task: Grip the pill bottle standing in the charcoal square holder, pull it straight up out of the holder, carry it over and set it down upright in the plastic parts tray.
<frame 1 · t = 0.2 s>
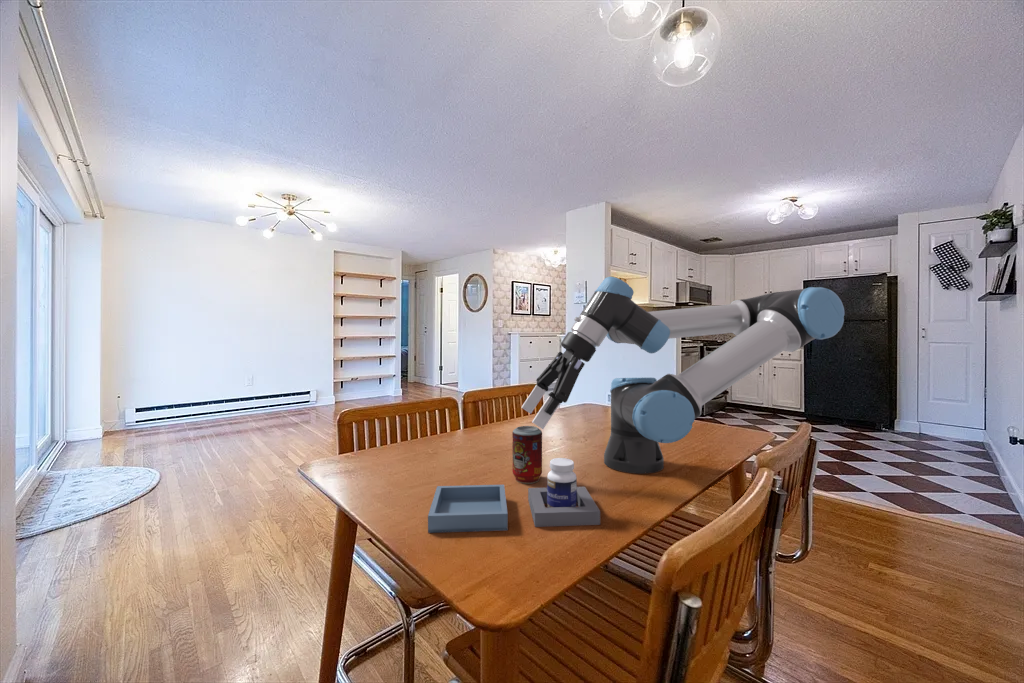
hand: (531, 417, 94), 16 cm above the table, tool tilted 35°, fingers open, 13 cm apart
pill bottle: (561, 512, 82), resting in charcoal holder
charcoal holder: (561, 511, 82), on the table
parts tray: (469, 514, 81), on the table
soda can: (527, 480, 100), on the table
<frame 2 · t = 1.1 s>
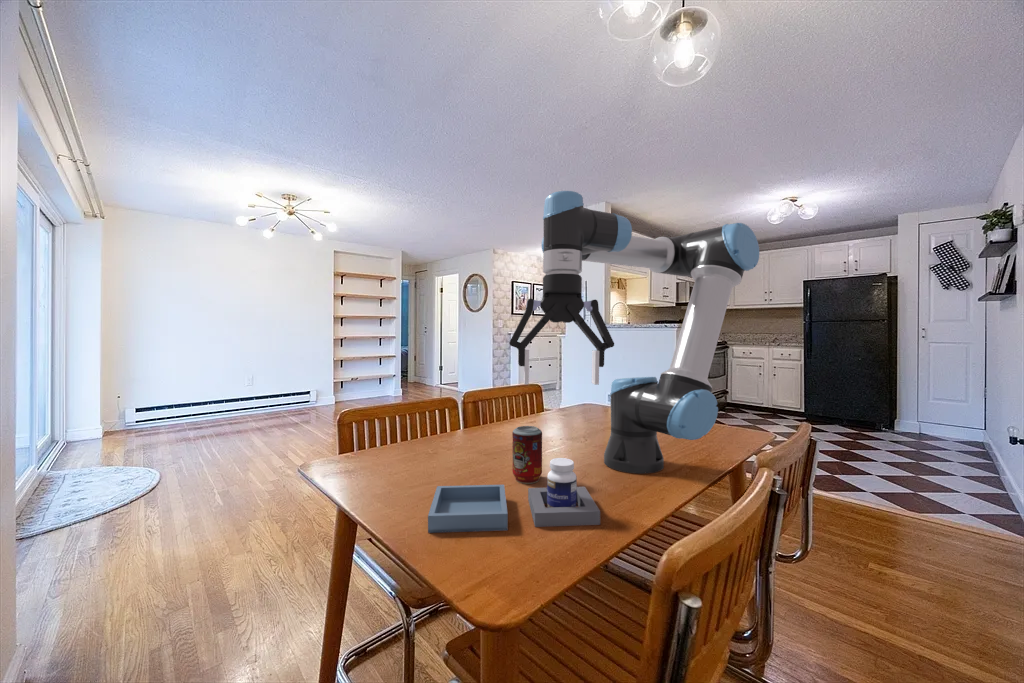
hand: (560, 383, 82), 25 cm above the table, tool pointing down, fingers open, 13 cm apart
nothing on the table moved.
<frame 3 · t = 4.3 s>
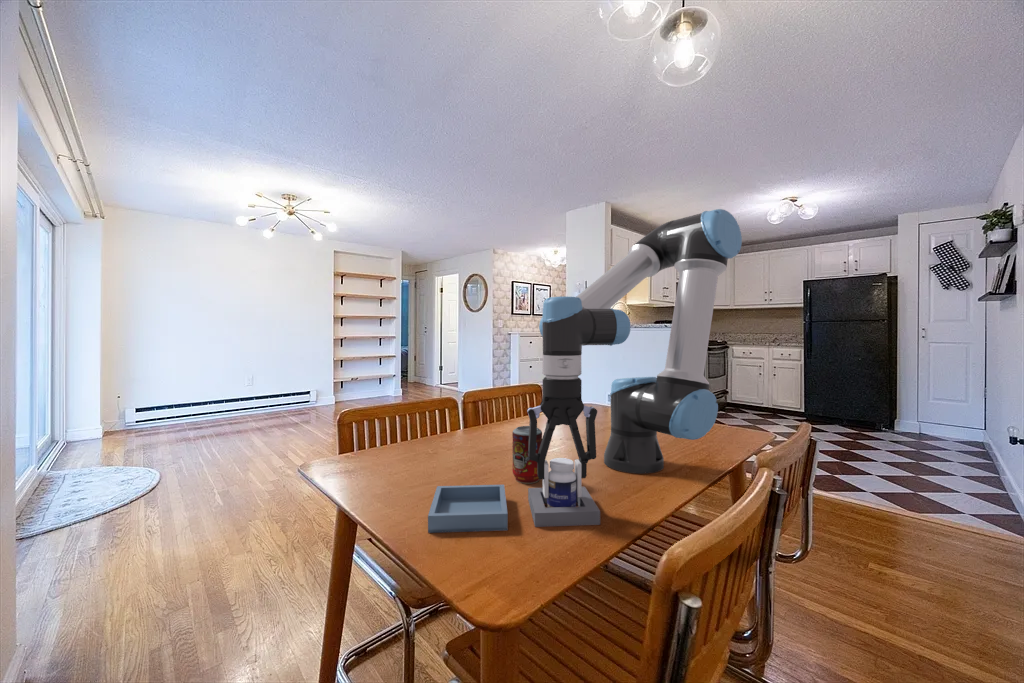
hand: (561, 494, 82), 3 cm above the table, tool pointing down, fingers closed on pill bottle, 6 cm apart
pill bottle: (561, 512, 82), resting in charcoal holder, touching gripper
everything else where it was.
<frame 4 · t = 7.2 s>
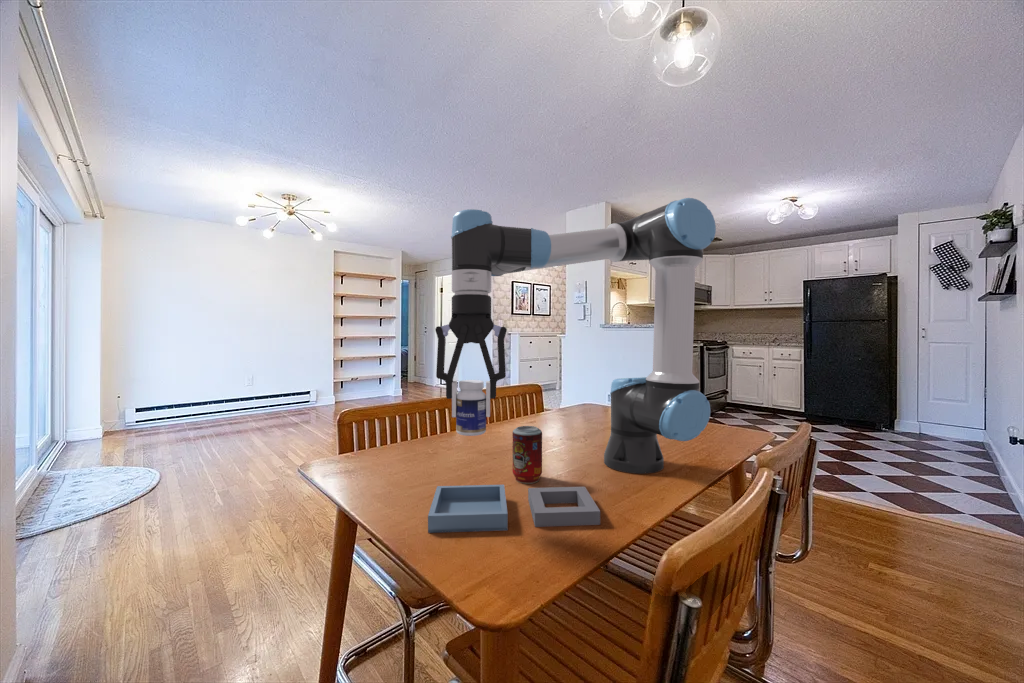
hand: (471, 415, 80), 19 cm above the table, tool pointing down, fingers closed on pill bottle, 6 cm apart
pill bottle: (471, 433, 80), point 16 cm above the table, touching gripper
everything else where it was.
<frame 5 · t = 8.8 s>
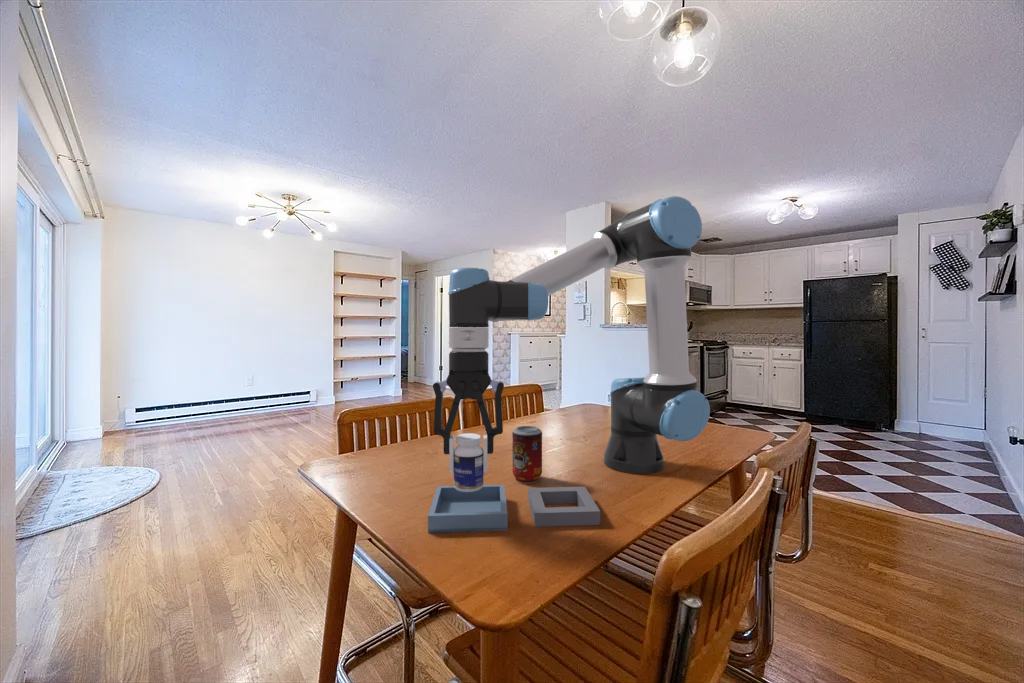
hand: (468, 470, 81), 9 cm above the table, tool pointing down, fingers closed on pill bottle, 6 cm apart
pill bottle: (468, 488, 81), point 5 cm above the table, touching gripper
everything else where it was.
when the fingers open (5 cm above the table, at t = 10.1 s): pill bottle drops 1 cm, resting on parts tray.
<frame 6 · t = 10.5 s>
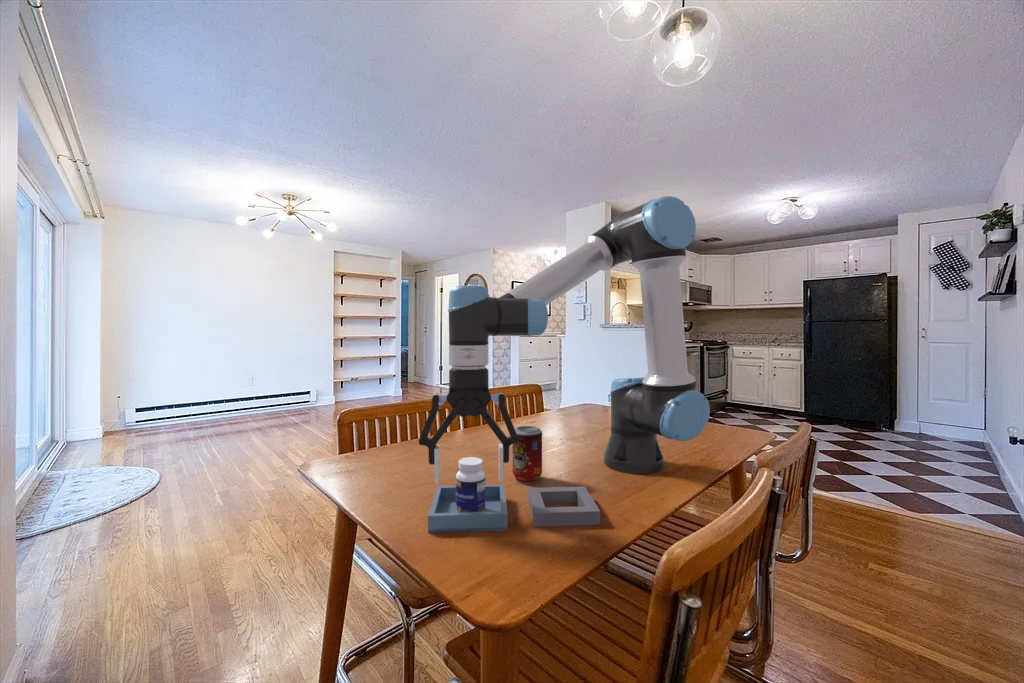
hand: (469, 479, 81), 7 cm above the table, tool pointing down, fingers open, 11 cm apart
pill bottle: (470, 512, 81), resting on parts tray
everything else where it was.
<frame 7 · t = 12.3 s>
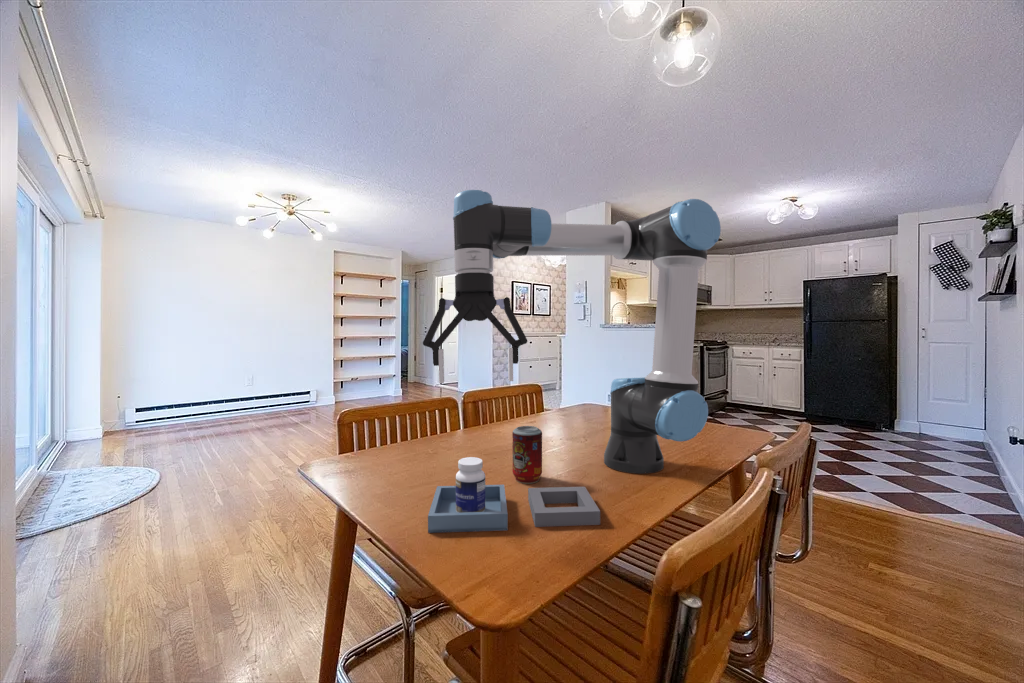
hand: (476, 381, 83), 25 cm above the table, tool pointing down, fingers open, 13 cm apart
nothing on the table moved.
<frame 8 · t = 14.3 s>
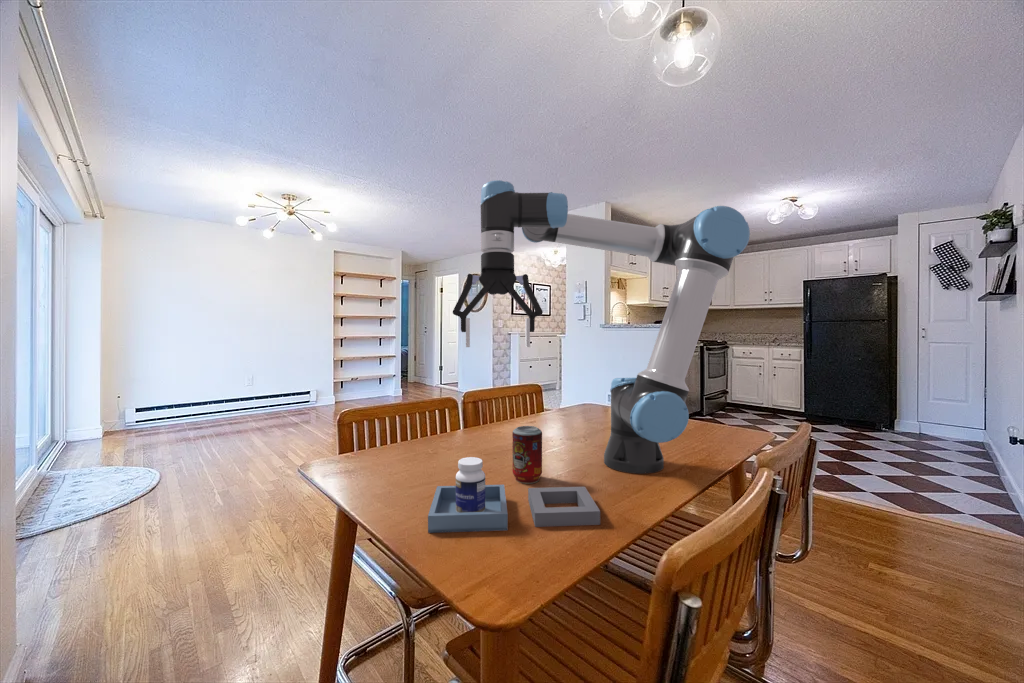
hand: (497, 347, 95), 32 cm above the table, tool pointing down, fingers open, 13 cm apart
nothing on the table moved.
at the end: pill bottle inside the target area on the parts tray (0.2 cm from its centre), point 0.3 cm above the parts tray's base; pill bottle tilted 0°; the gripper is holding nothing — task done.
